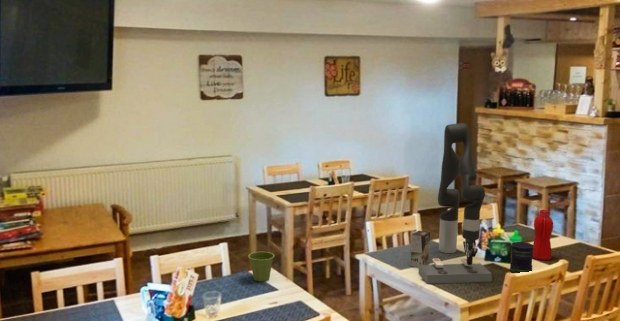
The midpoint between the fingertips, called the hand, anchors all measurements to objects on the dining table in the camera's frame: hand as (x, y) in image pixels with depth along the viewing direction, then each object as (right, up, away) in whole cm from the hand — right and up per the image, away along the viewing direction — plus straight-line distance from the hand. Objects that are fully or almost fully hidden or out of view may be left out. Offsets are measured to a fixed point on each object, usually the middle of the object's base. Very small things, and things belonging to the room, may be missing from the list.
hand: (469, 264), depth 281 cm
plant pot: (-96, -6, -4) cm, 96 cm away
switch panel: (-7, -6, 0) cm, 9 cm away
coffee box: (-20, -3, +18) cm, 27 cm away
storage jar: (+25, -6, +3) cm, 26 cm away
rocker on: (0, 0, +3) cm, 3 cm away
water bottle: (+44, -2, +29) cm, 53 cm away
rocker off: (-14, 0, +2) cm, 14 cm away
